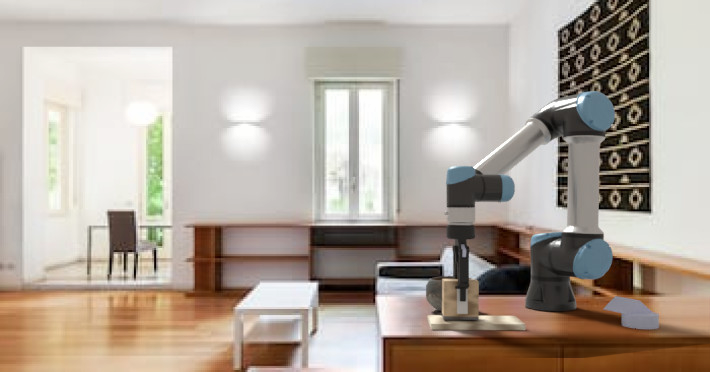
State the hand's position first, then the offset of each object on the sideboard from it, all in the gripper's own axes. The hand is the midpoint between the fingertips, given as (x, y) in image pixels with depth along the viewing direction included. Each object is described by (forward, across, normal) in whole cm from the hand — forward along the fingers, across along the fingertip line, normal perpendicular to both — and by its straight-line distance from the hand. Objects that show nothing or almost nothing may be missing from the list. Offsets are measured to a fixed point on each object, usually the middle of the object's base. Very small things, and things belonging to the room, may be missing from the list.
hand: (460, 311), depth 167 cm
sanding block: (+2, 0, 0) cm, 2 cm away
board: (+4, 0, +4) cm, 5 cm away
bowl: (+4, -21, 0) cm, 21 cm away
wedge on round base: (+4, -3, +47) cm, 47 cm away
